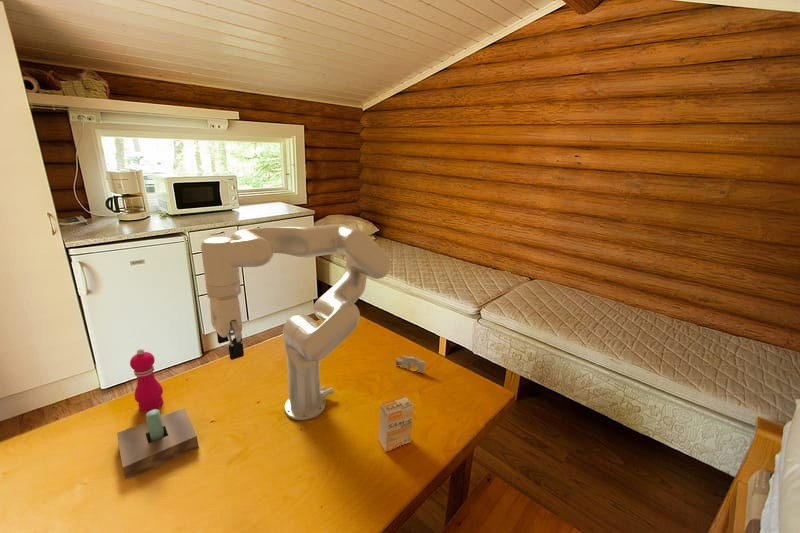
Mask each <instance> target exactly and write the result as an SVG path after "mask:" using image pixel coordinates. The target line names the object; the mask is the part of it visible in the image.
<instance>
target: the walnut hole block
mask: <svg viewBox="0 0 800 533" xmlns="http://www.w3.org/2000/svg"><path fill="white" fill-rule="evenodd" d="M160 416H161V421H162V426H163V431H164V436H165V437H163V438H161V439H159V440H156V441H154V442H151V438H150V433H149V428H148V424H147V421H145V422H143V423H140V424H137V425H135V426H132V427H129V428H127V429H125V430H122V431H118V432H116V436H117V442H118V448H119V449H118V450H119V454H120V460H121V461H120V462H121V466H122V470H123V475H124V478H125V481H127V480H129V479H131V478H134V477H137V476H138V475H140V474H143V473H145V472H147V471H150V470H152V469H155V468H156V467H158V466H162V465H163V464H165V463H168V462H169V461H172V460H174V459H177V458H179V457H182V456H183V455H185V454H188V453H190V452H192V451H195V450H196V449H199V448H200V447H199V441H198V435H197V433H196V430H195V428H194V426H193V423H192V421H191V419H190V416H189V414H188V412H187V410H186V408H185V407H183V408H180V409H177V410H174V411H171V412H169V413H166V414H164V415H160Z"/></svg>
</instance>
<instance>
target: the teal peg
mask: <svg viewBox="0 0 800 533" xmlns="http://www.w3.org/2000/svg"><path fill="white" fill-rule="evenodd" d="M160 412H161V410H160V409H159V408H157V409H154V410H151V411H149V412H146V414H145V418H146V422H147V424H148V428H149V433H150V438H151V442H154V441H156V440H159V439H161V438H163V437H165V436H164V431H163V426H162V421H161V416H162V415H161V413H160Z"/></svg>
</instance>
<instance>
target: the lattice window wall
mask: <svg viewBox="0 0 800 533" xmlns="http://www.w3.org/2000/svg"><path fill="white" fill-rule="evenodd" d="M426 363H427V362H426V361H424V360H422V359H420V358H418V357H416V356H408V355H403V354H402V357H401V358H399V357H395V366H396V365H398V366H399V365H401V366H403V367H406V368H408V369H410V368H413V369H417V370H416V371H420V372H424V373H425V365H426ZM398 366H397V367H398ZM408 369H407V370H408Z"/></svg>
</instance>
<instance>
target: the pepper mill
mask: <svg viewBox="0 0 800 533" xmlns="http://www.w3.org/2000/svg"><path fill="white" fill-rule="evenodd" d="M154 363H156V362H155V356H154V355H153V353H151V352H149V351H145V350H144V349H143V348H139V349H137V350H136V354H134V355H133V356H132V357H131V359H130V362H129V366H130V368H131V369H132V370H133V373H134V376H135V377H136V378H137V379H136V380H137V381H136V383H137V384H136V387H135V391H134V394H133V395H134V400H135V402H136V403H138V404H137V406H138V410H139V411H140V412H142V413H148V412H149V411H151V410H154V409H159V408H160V407H161V406H162V405H163V403H164V400H163V398H164V397H163V393H164V389H163V386H162V384H161V383H160V382H159V381H158V380H157V379H156V376H155V374H154V372H155V365H154Z"/></svg>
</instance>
